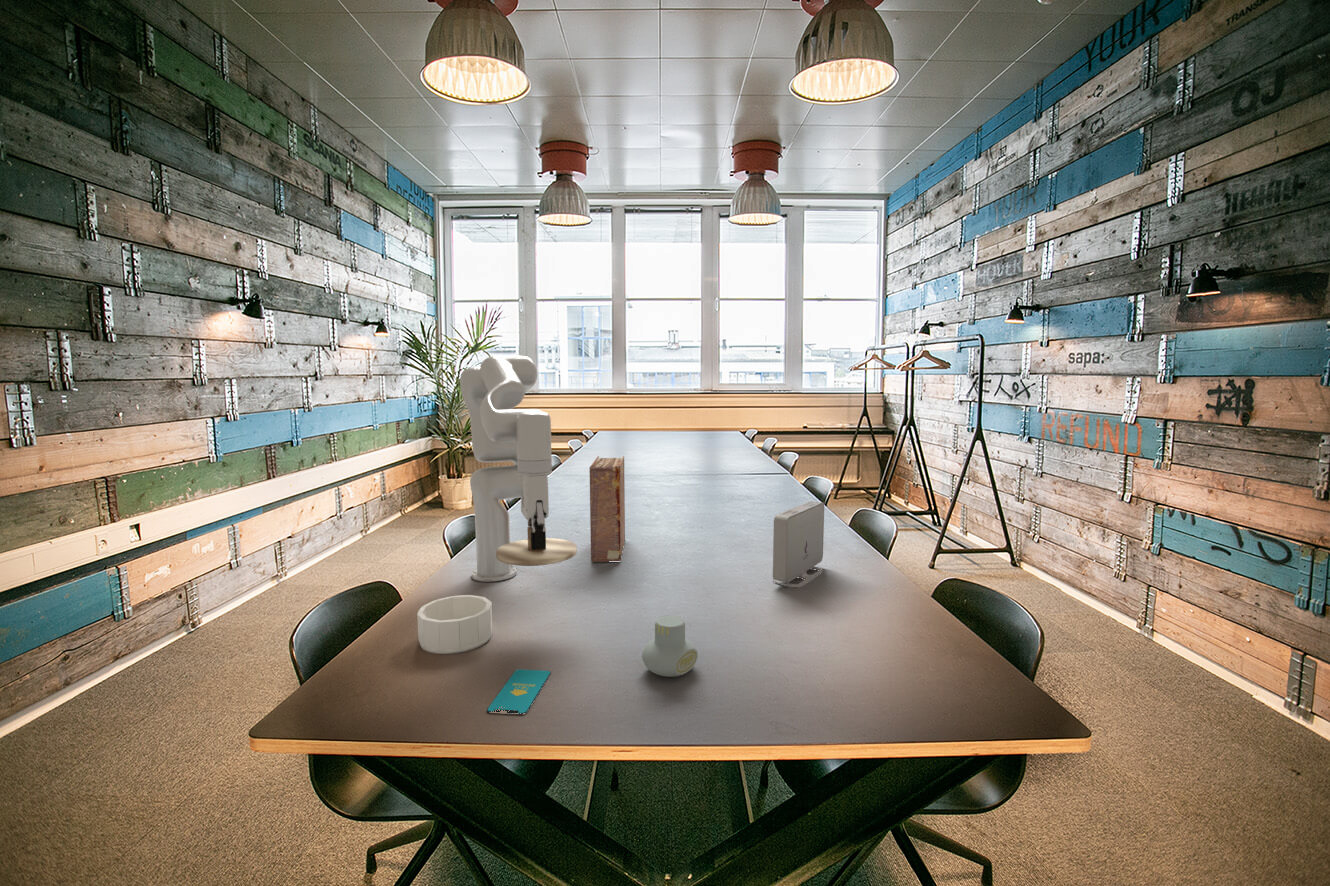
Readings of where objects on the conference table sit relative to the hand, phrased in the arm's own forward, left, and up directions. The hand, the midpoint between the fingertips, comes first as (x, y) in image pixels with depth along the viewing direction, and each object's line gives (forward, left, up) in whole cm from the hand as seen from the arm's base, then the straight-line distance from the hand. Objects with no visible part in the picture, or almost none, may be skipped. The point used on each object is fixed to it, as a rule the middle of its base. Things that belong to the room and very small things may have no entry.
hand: (536, 545), depth 135 cm
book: (-59, -11, -19) cm, 63 cm away
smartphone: (+26, +12, -20) cm, 35 cm away
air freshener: (+9, +35, -19) cm, 41 cm away
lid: (0, 0, -2) cm, 2 cm away
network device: (-55, +51, -19) cm, 78 cm away
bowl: (+12, -14, -19) cm, 26 cm away
